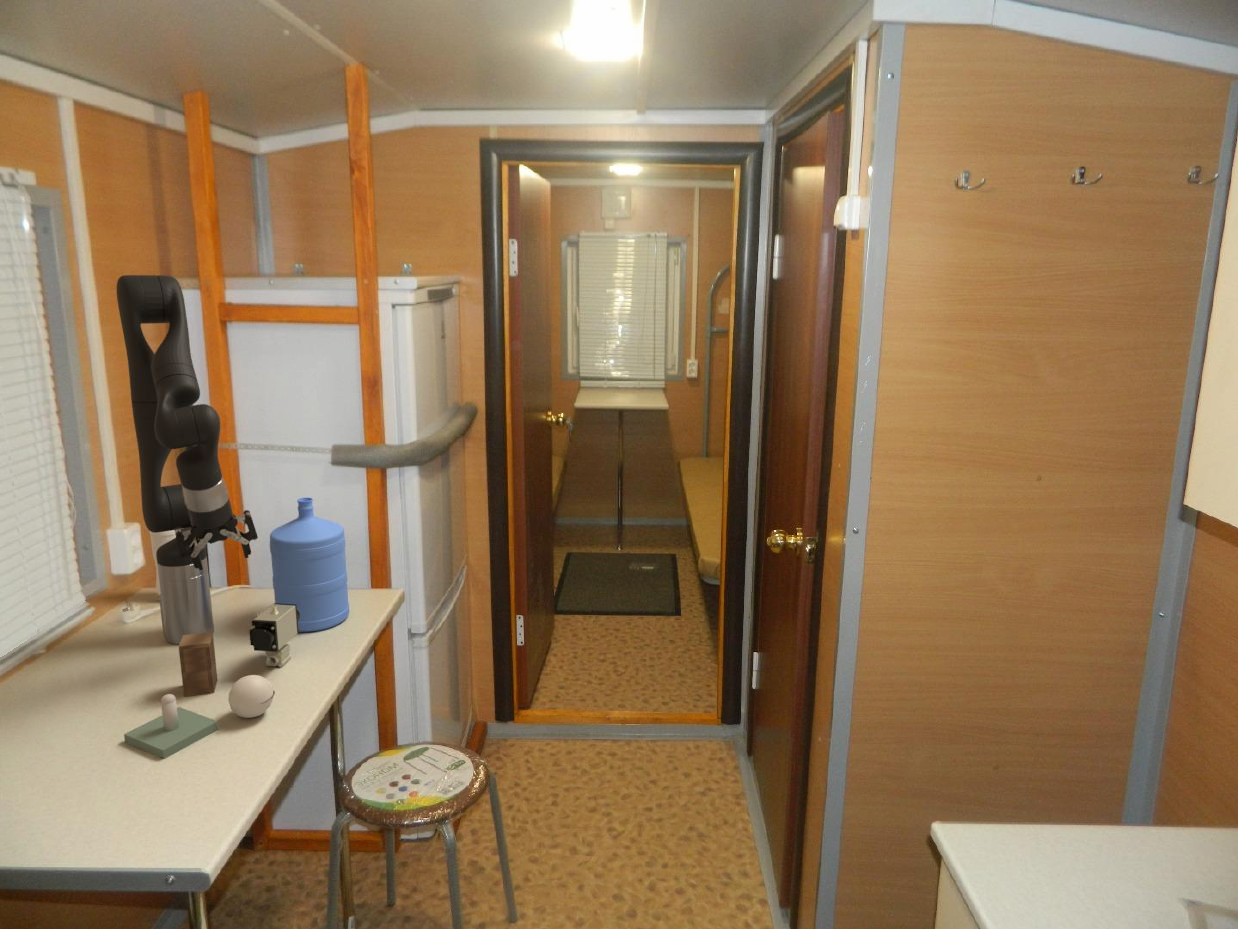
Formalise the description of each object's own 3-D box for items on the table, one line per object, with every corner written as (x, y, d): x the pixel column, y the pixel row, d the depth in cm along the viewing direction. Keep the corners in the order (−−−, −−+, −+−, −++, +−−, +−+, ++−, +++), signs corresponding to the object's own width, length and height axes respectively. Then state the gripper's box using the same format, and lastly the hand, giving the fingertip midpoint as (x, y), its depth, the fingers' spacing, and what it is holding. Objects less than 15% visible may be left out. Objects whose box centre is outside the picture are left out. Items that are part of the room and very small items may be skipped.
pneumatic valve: (303, 650, 171) (299, 596, 168) (275, 677, 160) (270, 620, 157) (278, 649, 172) (273, 595, 169) (247, 675, 160) (242, 618, 157)
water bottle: (198, 593, 199) (187, 494, 193) (173, 604, 192) (162, 501, 187) (175, 589, 201) (164, 490, 196) (150, 600, 195) (137, 498, 189)
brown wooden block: (184, 696, 152) (178, 646, 150) (188, 683, 157) (183, 635, 154) (213, 692, 154) (208, 643, 151) (217, 680, 158) (212, 632, 156)
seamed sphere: (255, 729, 142) (251, 690, 140) (220, 721, 144) (216, 683, 142) (294, 701, 151) (291, 665, 149) (261, 694, 153) (258, 658, 152)
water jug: (335, 634, 179) (328, 510, 172) (263, 632, 179) (253, 508, 173) (358, 605, 194) (352, 491, 188) (292, 604, 194) (283, 489, 188)
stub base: (125, 742, 137) (119, 700, 136) (179, 714, 146) (175, 675, 144) (164, 758, 133) (159, 716, 131) (218, 729, 142) (214, 689, 140)
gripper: (243, 479, 163) (257, 541, 173) (163, 496, 157) (182, 560, 166) (250, 500, 158) (264, 563, 167) (167, 519, 152) (187, 583, 161)
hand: (223, 561), depth 167 cm, fingers open, 8 cm apart
